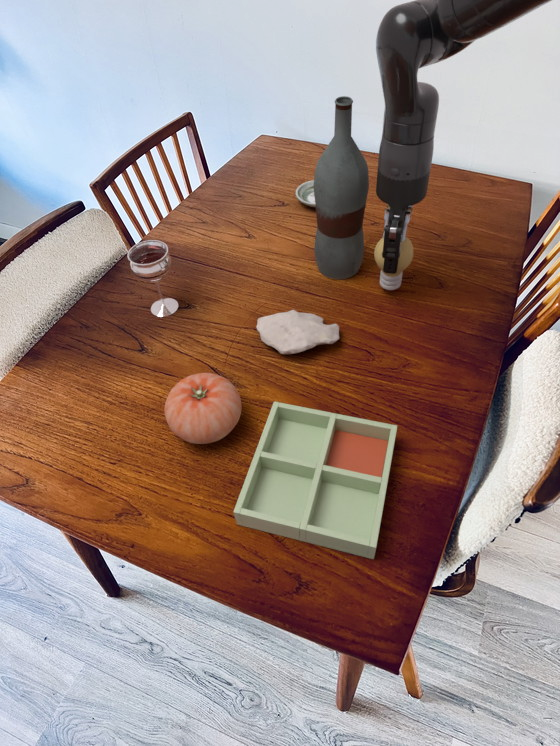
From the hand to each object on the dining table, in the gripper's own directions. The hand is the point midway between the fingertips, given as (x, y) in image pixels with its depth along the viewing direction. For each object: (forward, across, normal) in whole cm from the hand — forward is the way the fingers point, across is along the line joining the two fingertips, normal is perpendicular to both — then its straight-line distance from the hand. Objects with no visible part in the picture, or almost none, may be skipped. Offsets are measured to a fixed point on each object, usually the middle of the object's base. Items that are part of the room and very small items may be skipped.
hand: (393, 258), depth 88 cm
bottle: (+7, +5, +10) cm, 13 cm away
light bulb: (+6, 0, 0) cm, 6 cm away
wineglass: (+7, -13, +38) cm, 41 cm away
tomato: (+7, -35, +21) cm, 42 cm away
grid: (+7, -40, +3) cm, 41 cm away
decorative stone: (+7, -15, +13) cm, 21 cm away
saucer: (+7, +26, +19) cm, 33 cm away
